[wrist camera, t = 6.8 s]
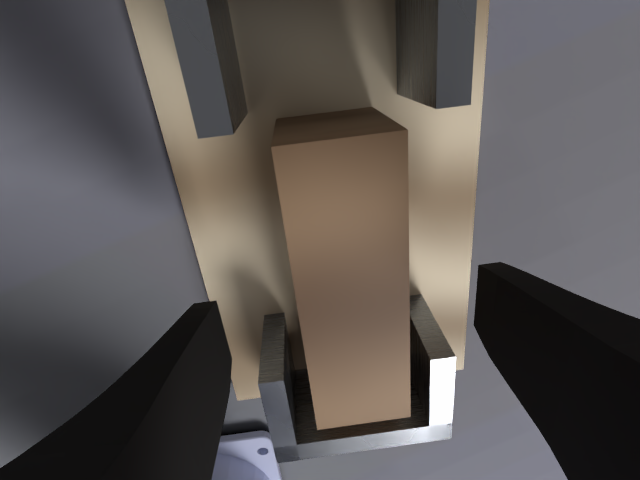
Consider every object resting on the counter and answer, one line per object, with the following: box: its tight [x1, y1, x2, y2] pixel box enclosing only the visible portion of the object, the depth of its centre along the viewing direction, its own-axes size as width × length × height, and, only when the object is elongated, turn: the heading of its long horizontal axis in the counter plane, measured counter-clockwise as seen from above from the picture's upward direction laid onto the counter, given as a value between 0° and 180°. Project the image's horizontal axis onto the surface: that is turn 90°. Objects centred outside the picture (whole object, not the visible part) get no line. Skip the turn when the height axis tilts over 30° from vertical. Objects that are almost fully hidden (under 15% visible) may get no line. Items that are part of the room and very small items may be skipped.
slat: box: [271, 107, 411, 430], centre depth 12 cm, size 9×3×4 cm, turn 6°
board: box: [125, 0, 490, 400], centre depth 13 cm, size 18×10×1 cm, turn 6°
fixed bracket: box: [258, 294, 456, 463], centre depth 14 cm, size 4×6×4 cm, turn 96°
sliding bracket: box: [164, 0, 477, 139], centre depth 10 cm, size 4×6×4 cm, turn 96°
